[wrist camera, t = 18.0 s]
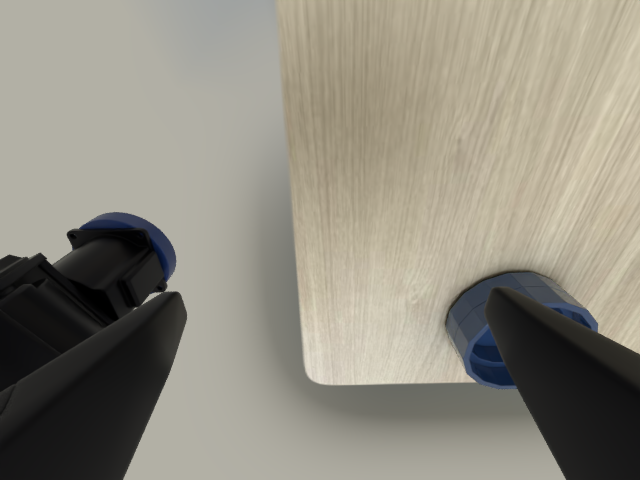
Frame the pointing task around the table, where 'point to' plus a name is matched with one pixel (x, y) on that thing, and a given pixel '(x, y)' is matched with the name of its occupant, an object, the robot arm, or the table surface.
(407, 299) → the table surface
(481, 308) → the blue bowl
